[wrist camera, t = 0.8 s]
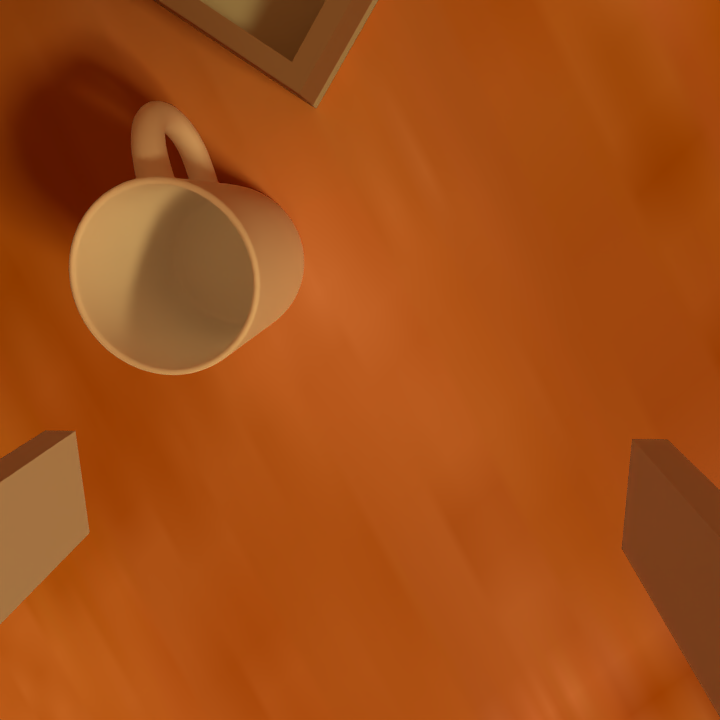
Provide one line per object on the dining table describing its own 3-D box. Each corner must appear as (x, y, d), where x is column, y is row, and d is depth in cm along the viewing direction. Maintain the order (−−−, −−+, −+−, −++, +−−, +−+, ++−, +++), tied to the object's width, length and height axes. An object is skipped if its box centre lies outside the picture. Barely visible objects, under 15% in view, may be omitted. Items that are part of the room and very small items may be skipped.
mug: (132, 133, 35) (13, 104, 25) (273, 99, 34) (208, 54, 24) (187, 341, 38) (99, 390, 28) (321, 316, 36) (279, 357, 26)
